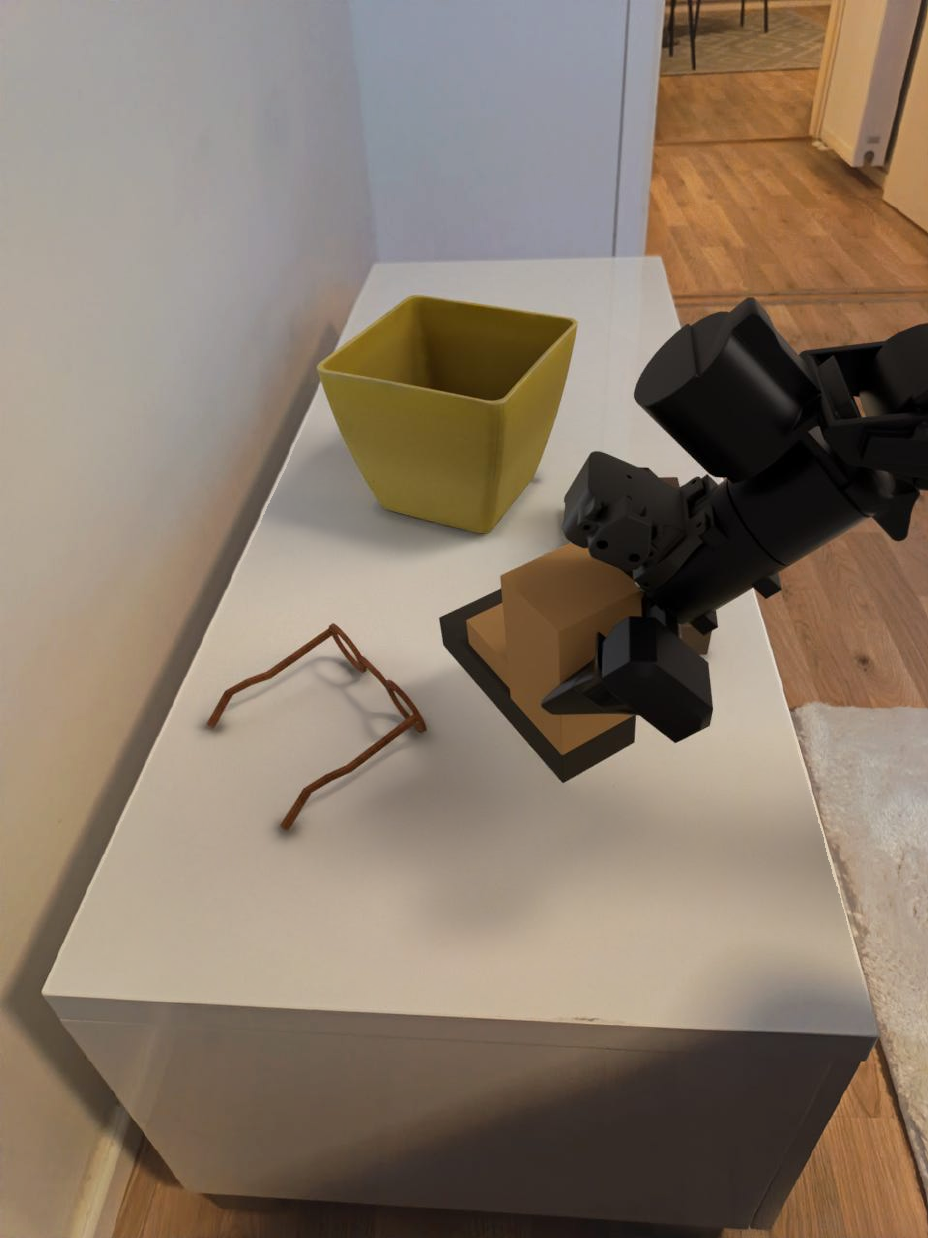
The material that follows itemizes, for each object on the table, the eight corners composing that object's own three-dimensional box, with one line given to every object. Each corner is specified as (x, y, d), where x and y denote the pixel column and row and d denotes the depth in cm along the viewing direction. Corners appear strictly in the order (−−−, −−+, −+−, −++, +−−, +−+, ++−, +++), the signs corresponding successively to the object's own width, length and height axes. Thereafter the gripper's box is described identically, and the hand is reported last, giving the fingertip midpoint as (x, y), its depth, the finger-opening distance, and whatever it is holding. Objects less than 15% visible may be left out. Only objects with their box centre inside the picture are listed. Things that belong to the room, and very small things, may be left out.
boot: (635, 743, 59) (644, 588, 50) (562, 784, 57) (558, 631, 48) (507, 614, 70) (495, 466, 60) (442, 645, 68) (419, 497, 58)
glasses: (432, 743, 68) (427, 699, 64) (284, 833, 62) (270, 791, 59) (343, 652, 76) (335, 609, 72) (205, 725, 70) (189, 682, 67)
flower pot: (423, 431, 103) (411, 290, 92) (574, 464, 96) (581, 316, 85) (337, 518, 91) (311, 367, 79) (504, 563, 84) (501, 405, 73)
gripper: (655, 341, 50) (474, 496, 59) (668, 535, 37) (431, 699, 45) (772, 462, 54) (587, 590, 63) (823, 677, 41) (578, 801, 50)
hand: (550, 657), depth 55 cm, fingers closed on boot, 8 cm apart
